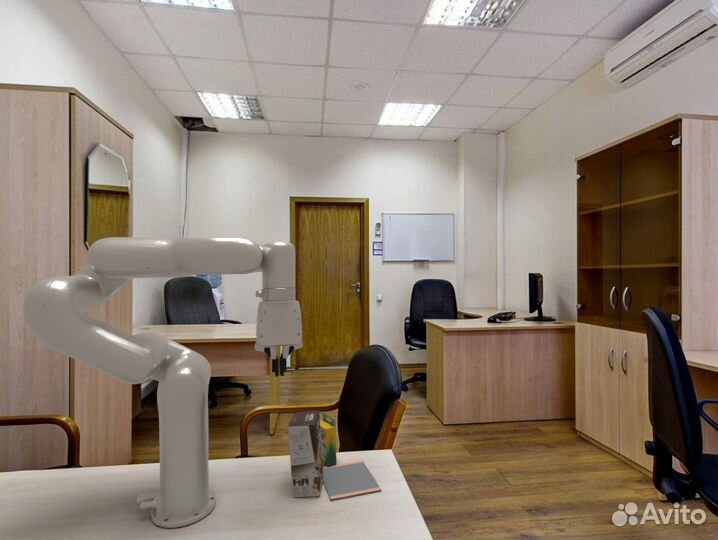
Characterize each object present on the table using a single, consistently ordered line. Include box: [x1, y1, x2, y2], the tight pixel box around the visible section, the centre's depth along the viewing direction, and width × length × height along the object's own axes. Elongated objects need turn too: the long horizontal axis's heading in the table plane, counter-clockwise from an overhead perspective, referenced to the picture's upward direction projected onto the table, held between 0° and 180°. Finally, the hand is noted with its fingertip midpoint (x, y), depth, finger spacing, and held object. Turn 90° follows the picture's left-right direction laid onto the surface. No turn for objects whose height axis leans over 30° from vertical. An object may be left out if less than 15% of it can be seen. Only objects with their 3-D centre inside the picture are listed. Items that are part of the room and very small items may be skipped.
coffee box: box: [287, 410, 325, 498], centre depth 89 cm, size 9×6×16 cm
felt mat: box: [322, 460, 382, 502], centre depth 91 cm, size 12×14×1 cm
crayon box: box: [320, 412, 338, 467], centre depth 100 cm, size 7×3×12 cm, turn 33°
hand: (279, 374), depth 87 cm, fingers closed
